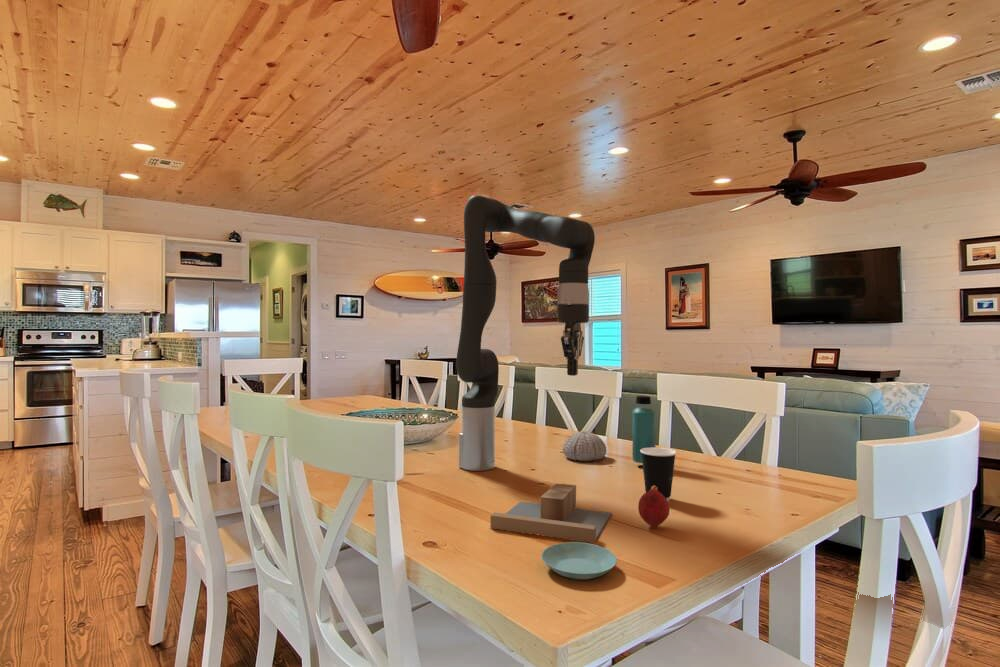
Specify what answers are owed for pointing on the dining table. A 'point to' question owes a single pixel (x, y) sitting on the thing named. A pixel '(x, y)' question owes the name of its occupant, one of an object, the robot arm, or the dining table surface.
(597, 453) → the sea urchin shell
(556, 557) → the saucer
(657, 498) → the onion
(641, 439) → the beverage bottle
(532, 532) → the grey flat slab
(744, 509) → the dining table surface
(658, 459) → the dixie cup
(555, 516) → the cardboard box
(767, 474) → the dining table surface
